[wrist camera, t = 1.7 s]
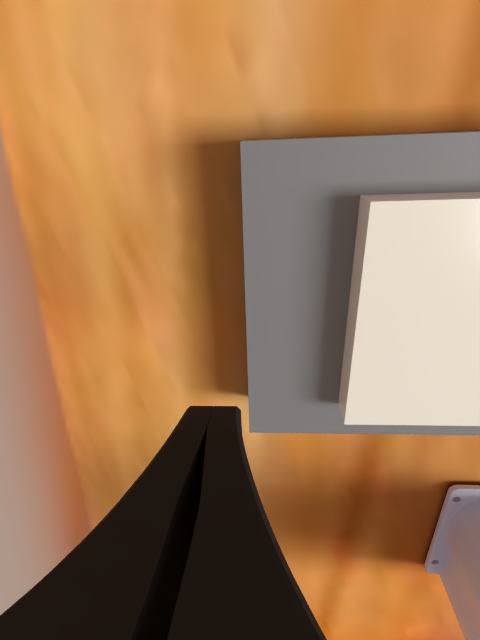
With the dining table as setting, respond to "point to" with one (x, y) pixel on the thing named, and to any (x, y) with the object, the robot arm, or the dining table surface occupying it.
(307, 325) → the block
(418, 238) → the tile
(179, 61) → the dining table surface
